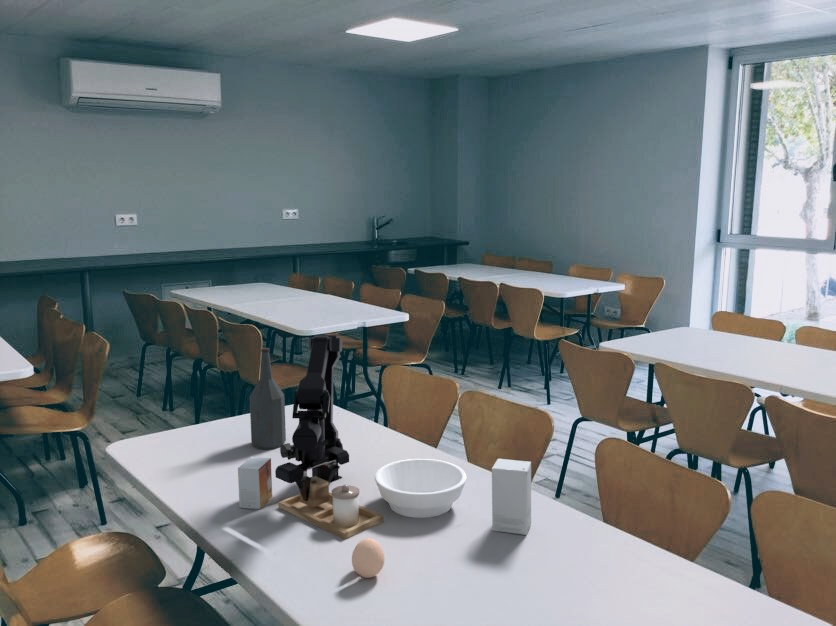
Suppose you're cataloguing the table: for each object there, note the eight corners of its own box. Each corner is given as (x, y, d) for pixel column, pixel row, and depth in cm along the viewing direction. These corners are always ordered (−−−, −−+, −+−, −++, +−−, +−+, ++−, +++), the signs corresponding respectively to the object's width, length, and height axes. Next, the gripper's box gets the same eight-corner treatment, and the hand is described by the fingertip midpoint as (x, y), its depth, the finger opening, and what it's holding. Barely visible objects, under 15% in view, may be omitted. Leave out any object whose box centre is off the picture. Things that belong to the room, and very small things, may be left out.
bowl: (479, 497, 187) (479, 466, 186) (444, 535, 167) (445, 501, 166) (399, 482, 197) (399, 452, 195) (358, 517, 176) (357, 484, 175)
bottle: (259, 437, 231) (255, 344, 226) (289, 438, 230) (286, 345, 224) (247, 449, 221) (243, 351, 216) (278, 450, 220) (275, 352, 214)
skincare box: (531, 524, 172) (533, 461, 170) (526, 537, 166) (528, 471, 164) (496, 519, 175) (497, 456, 172) (490, 531, 169) (491, 467, 166)
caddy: (317, 495, 188) (317, 487, 188) (383, 524, 172) (383, 515, 172) (279, 510, 180) (278, 501, 179) (344, 542, 164) (344, 533, 163)
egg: (358, 587, 146) (357, 550, 144) (347, 571, 152) (347, 535, 150) (389, 580, 148) (389, 543, 147) (377, 564, 154) (377, 529, 153)
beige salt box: (315, 495, 183) (315, 475, 182) (329, 501, 180) (328, 480, 179) (299, 501, 179) (299, 481, 178) (313, 507, 176) (312, 487, 175)
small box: (260, 510, 180) (258, 469, 178) (239, 508, 181) (237, 467, 179) (273, 496, 188) (271, 457, 186) (252, 494, 189) (250, 455, 187)
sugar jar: (347, 512, 177) (346, 477, 175) (365, 521, 172) (364, 484, 171) (326, 521, 172) (325, 485, 170) (344, 530, 168) (344, 492, 166)
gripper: (320, 419, 189) (322, 477, 192) (260, 438, 175) (262, 499, 178) (350, 429, 181) (351, 489, 184) (289, 449, 168) (291, 513, 171)
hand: (314, 497), depth 179 cm, fingers closed on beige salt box, 5 cm apart
